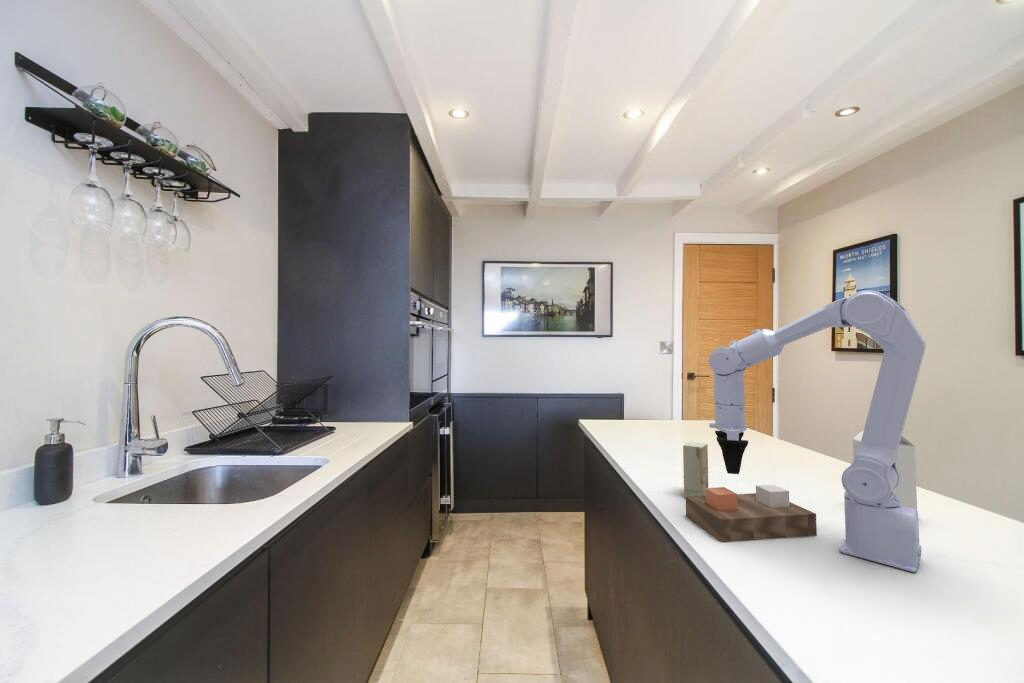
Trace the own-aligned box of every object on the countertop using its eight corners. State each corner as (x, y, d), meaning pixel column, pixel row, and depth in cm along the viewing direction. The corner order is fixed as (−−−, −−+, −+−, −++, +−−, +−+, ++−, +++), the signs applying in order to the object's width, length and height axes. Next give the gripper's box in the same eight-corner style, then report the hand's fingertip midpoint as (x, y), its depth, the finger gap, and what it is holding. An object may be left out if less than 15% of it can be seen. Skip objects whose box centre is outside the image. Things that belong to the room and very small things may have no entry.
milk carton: (889, 508, 91) (886, 420, 91) (918, 521, 84) (914, 426, 84) (854, 507, 91) (851, 420, 92) (879, 520, 84) (876, 425, 85)
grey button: (774, 504, 85) (773, 484, 85) (789, 511, 81) (789, 491, 81) (756, 505, 85) (755, 485, 85) (770, 512, 81) (770, 491, 81)
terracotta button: (724, 507, 84) (723, 487, 84) (737, 514, 80) (737, 493, 80) (705, 508, 83) (705, 488, 83) (718, 516, 79) (717, 494, 79)
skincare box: (703, 501, 96) (701, 447, 96) (683, 497, 98) (682, 445, 99) (709, 493, 101) (708, 442, 101) (690, 490, 104) (689, 440, 104)
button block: (769, 511, 89) (768, 492, 89) (816, 535, 77) (816, 513, 78) (685, 516, 87) (685, 496, 87) (721, 542, 75) (721, 519, 75)
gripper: (707, 399, 97) (709, 459, 96) (709, 407, 83) (711, 475, 83) (742, 400, 94) (744, 461, 93) (749, 408, 81) (752, 479, 80)
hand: (731, 468), depth 88 cm, fingers open, 7 cm apart
